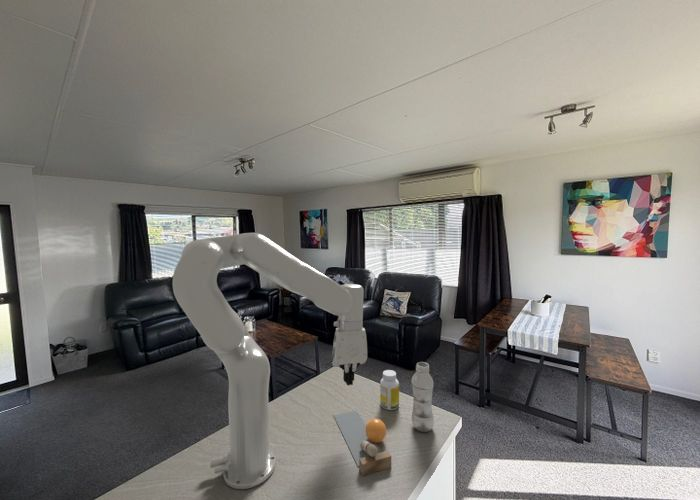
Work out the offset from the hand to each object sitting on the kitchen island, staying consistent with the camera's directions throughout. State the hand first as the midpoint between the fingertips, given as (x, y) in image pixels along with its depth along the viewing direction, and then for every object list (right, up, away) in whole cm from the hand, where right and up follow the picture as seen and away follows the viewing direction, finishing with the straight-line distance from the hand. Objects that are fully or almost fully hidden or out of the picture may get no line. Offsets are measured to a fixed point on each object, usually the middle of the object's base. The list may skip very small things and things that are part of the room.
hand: (348, 383), depth 88 cm
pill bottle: (+14, -13, +11) cm, 23 cm away
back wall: (+7, -14, -16) cm, 22 cm away
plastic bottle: (+23, -14, -1) cm, 27 cm away
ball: (+8, -11, -6) cm, 15 cm away
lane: (+3, -14, -3) cm, 15 cm away
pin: (+4, -13, -9) cm, 17 cm away
